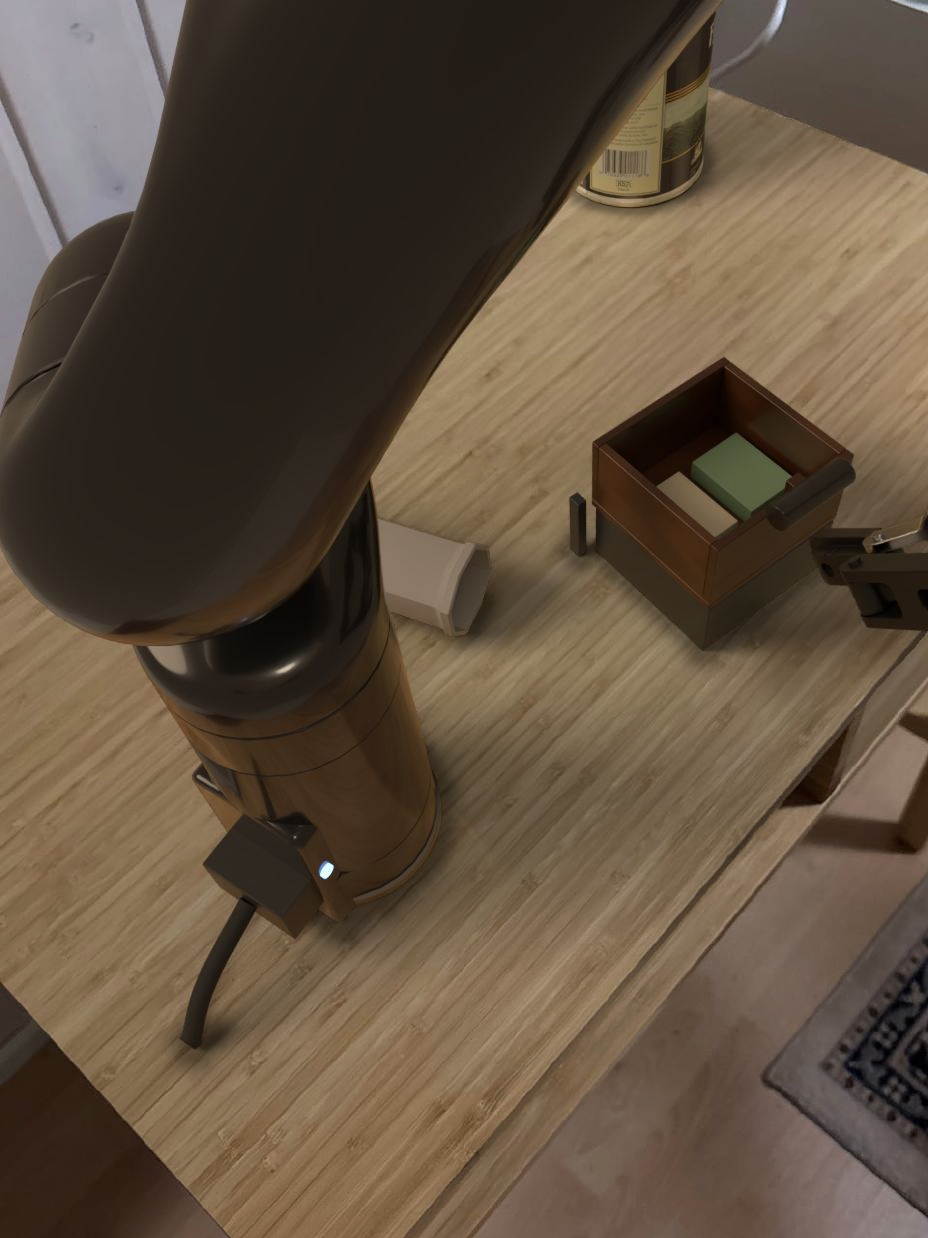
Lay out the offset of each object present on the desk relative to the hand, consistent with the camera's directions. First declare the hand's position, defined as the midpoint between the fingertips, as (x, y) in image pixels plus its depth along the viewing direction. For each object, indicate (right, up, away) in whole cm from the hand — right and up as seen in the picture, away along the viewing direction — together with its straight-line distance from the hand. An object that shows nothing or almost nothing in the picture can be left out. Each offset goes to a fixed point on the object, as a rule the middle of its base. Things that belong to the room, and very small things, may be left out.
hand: (895, 502), depth 48 cm
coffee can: (-6, +28, +36) cm, 46 cm away
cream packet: (-7, 0, +11) cm, 13 cm away
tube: (-29, -1, +19) cm, 35 cm away
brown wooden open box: (-4, 0, +12) cm, 13 cm away
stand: (-5, -1, +16) cm, 17 cm away
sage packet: (-3, +3, +13) cm, 13 cm away
